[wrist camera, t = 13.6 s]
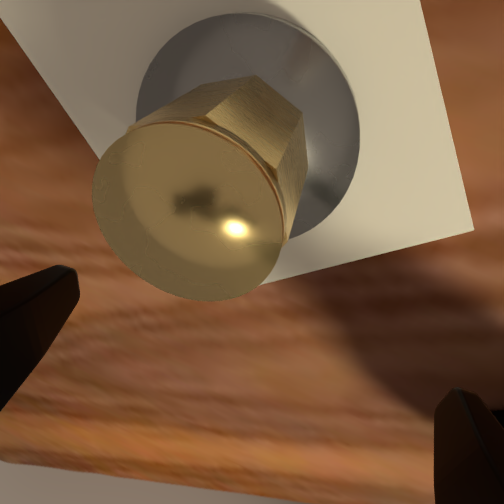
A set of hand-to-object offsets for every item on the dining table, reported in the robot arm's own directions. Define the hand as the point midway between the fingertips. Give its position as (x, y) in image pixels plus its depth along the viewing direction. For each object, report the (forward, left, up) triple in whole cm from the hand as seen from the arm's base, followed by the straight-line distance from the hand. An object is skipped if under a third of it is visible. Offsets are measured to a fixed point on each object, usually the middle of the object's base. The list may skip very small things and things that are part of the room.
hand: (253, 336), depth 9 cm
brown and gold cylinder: (+2, +2, -10) cm, 10 cm away
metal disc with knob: (+2, +2, -11) cm, 11 cm away
